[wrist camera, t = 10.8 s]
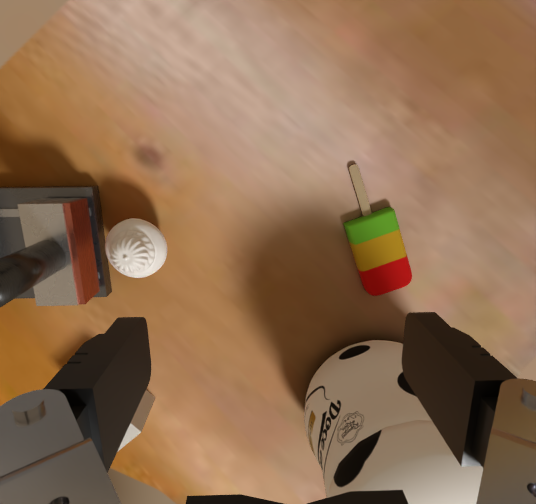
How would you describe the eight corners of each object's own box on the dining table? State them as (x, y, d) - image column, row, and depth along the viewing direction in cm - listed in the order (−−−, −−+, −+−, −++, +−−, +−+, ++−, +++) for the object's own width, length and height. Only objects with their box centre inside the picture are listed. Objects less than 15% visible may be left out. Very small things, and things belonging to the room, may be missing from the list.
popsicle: (364, 294, 44) (369, 300, 43) (326, 173, 41) (329, 174, 39) (409, 278, 44) (416, 284, 42) (374, 155, 40) (380, 155, 38)
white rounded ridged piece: (175, 267, 42) (160, 289, 36) (120, 266, 42) (94, 289, 35) (172, 212, 41) (155, 225, 34) (115, 212, 40) (87, 225, 34)
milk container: (272, 381, 47) (281, 519, 29) (389, 301, 44) (474, 401, 27) (350, 468, 51) (398, 635, 33) (461, 399, 48) (575, 542, 31)
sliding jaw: (41, 198, 38) (-66, 223, 25) (87, 197, 38) (3, 222, 25) (57, 290, 41) (-32, 354, 28) (100, 290, 41) (30, 353, 28)
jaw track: (-51, 187, 39) (-105, 194, 33) (98, 185, 40) (70, 192, 34) (-26, 294, 42) (-71, 317, 37) (111, 291, 43) (88, 314, 37)
